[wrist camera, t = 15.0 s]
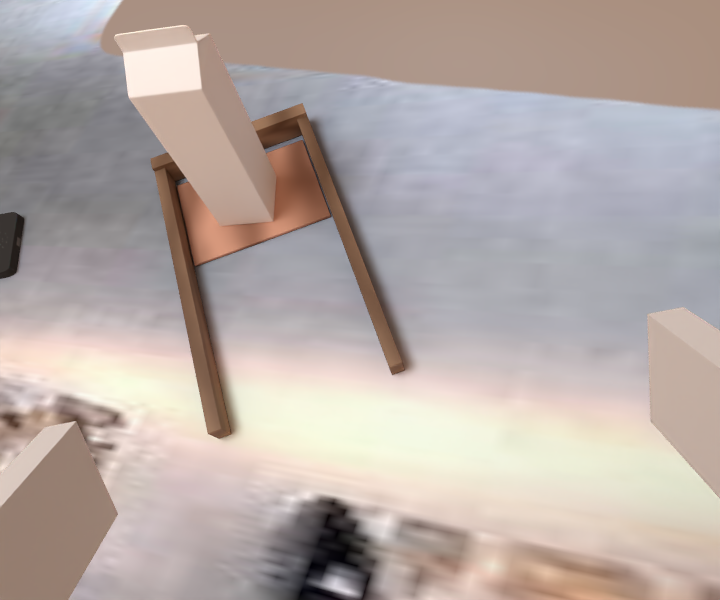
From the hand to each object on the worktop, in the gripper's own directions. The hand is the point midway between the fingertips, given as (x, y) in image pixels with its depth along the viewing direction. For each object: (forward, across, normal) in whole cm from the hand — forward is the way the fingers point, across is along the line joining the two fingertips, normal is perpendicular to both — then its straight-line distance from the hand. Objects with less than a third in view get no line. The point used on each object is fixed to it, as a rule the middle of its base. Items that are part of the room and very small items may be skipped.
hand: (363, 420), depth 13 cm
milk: (+49, -13, -1) cm, 51 cm away
